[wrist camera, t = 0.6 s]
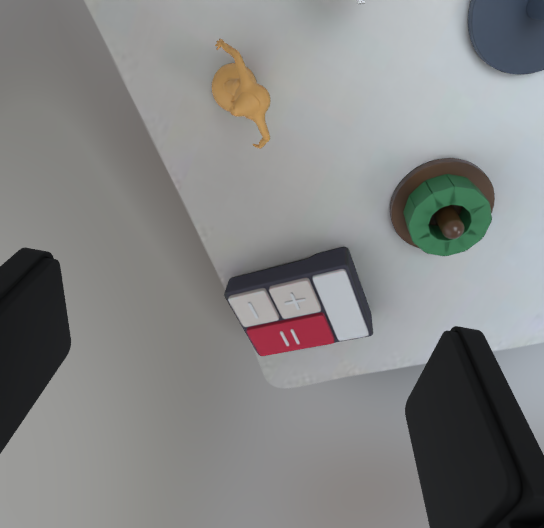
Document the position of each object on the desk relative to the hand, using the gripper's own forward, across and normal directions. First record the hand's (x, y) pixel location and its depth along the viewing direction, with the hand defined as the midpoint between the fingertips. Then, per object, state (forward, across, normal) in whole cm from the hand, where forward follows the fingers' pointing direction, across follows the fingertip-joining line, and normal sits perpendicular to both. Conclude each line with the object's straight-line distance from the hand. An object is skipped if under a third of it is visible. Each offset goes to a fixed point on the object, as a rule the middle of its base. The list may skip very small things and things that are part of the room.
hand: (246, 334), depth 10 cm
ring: (+32, -17, +9) cm, 37 cm away
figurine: (+33, +4, 0) cm, 33 cm away
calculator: (+34, -5, +24) cm, 42 cm away
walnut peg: (+33, -17, +9) cm, 38 cm away
